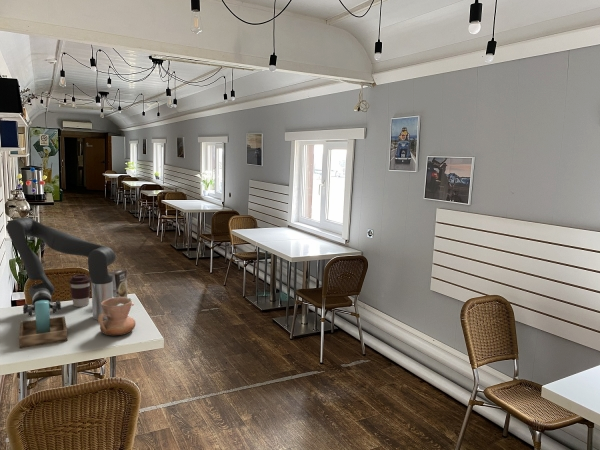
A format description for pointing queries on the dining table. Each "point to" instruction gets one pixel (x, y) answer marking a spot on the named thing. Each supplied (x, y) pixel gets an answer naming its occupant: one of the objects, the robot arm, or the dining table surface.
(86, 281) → the coffee cup
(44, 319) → the teal canister
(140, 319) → the dining table surface
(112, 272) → the coffee box
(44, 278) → the robot arm
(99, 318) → the ceramic jug
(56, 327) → the walnut crate
